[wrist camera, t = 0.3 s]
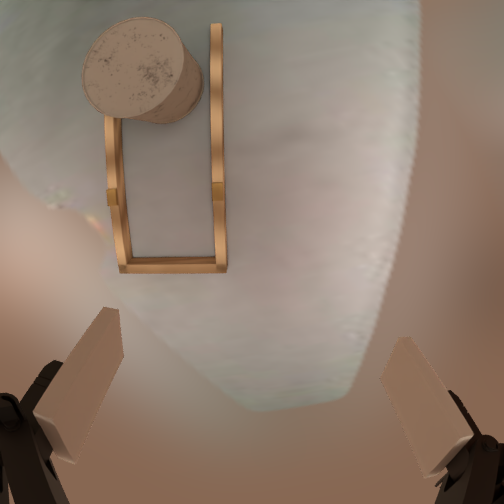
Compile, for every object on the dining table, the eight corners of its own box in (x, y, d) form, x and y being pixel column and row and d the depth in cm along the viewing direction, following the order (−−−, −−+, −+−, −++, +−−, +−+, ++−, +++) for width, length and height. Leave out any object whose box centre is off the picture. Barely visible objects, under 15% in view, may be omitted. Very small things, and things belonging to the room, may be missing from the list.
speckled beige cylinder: (148, 138, 35) (105, 139, 23) (117, 76, 32) (68, 57, 20) (217, 99, 34) (203, 80, 22) (183, 37, 31) (157, -2, 19)
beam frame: (114, 44, 30) (104, 38, 27) (222, 30, 30) (220, 21, 28) (126, 265, 41) (118, 275, 38) (227, 265, 41) (226, 275, 38)
